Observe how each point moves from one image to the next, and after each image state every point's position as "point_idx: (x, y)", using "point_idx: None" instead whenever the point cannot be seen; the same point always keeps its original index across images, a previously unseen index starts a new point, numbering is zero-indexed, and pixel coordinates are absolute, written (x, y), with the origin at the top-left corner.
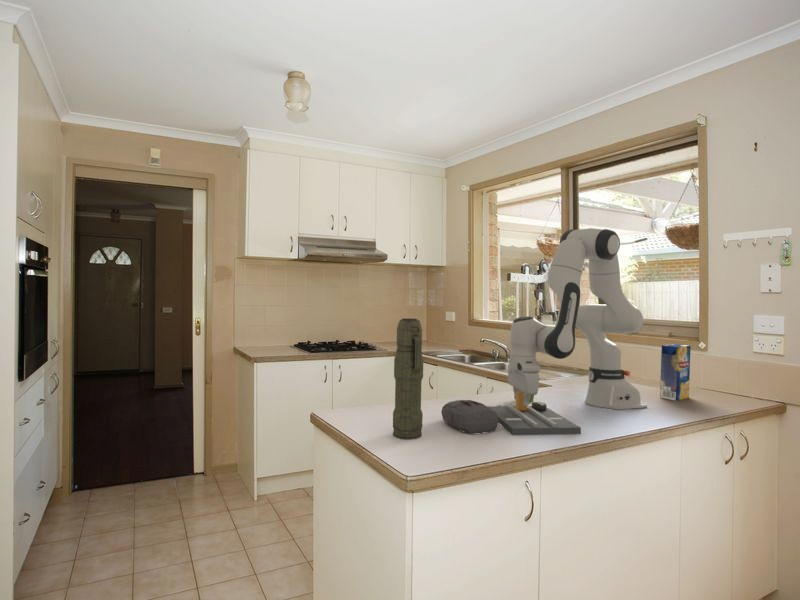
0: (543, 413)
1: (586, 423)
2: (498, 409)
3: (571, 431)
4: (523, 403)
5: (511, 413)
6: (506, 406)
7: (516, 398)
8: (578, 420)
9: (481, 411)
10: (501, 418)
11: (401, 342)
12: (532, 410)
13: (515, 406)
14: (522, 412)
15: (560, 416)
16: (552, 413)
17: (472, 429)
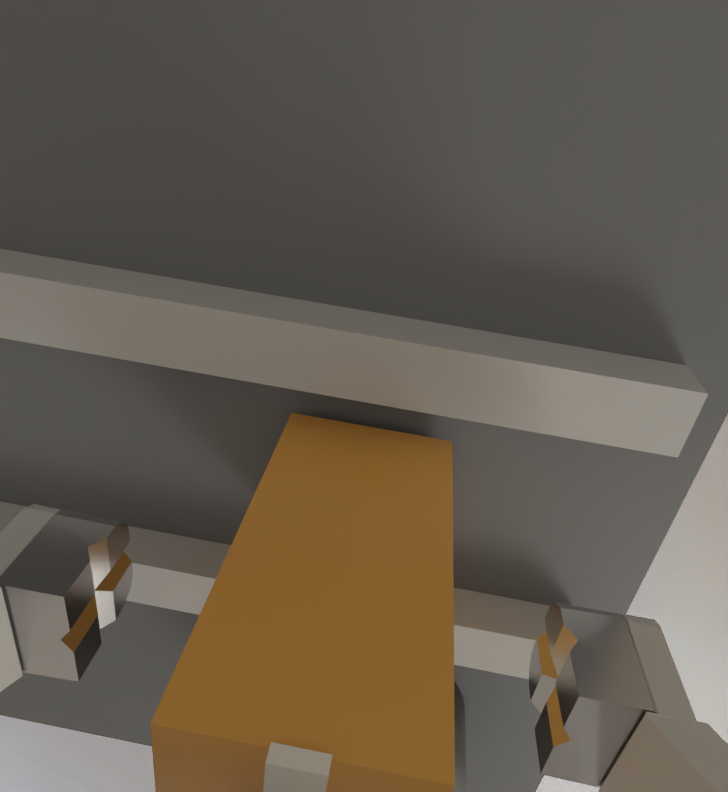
0: (149, 640)
1: (44, 779)
2: (540, 50)
3: None
4: (48, 522)
5: (144, 190)
6: (686, 369)
7: (397, 587)
8: (136, 786)
9: None
10: None
11: None
12: (138, 563)
13: (640, 530)
14: (213, 427)
15: (19, 707)
16: (147, 712)
17: None
